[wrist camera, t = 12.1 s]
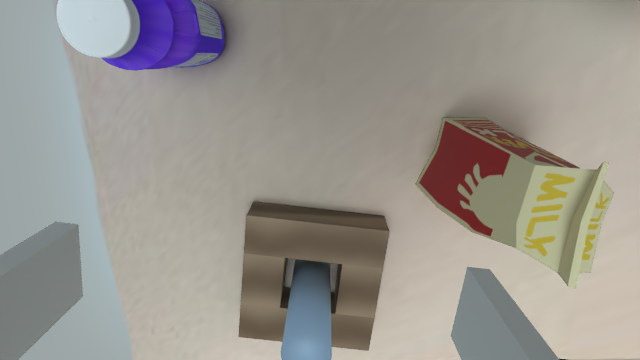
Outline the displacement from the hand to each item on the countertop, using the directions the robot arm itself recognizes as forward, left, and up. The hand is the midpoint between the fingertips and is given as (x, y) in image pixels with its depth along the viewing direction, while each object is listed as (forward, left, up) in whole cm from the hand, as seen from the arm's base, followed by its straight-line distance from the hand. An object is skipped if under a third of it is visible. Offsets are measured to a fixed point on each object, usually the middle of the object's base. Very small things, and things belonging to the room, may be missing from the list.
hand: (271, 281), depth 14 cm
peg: (+15, +2, -29) cm, 32 cm away
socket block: (+15, +2, -29) cm, 32 cm away
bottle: (-8, -12, -29) cm, 32 cm away
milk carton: (+1, +17, -29) cm, 34 cm away
